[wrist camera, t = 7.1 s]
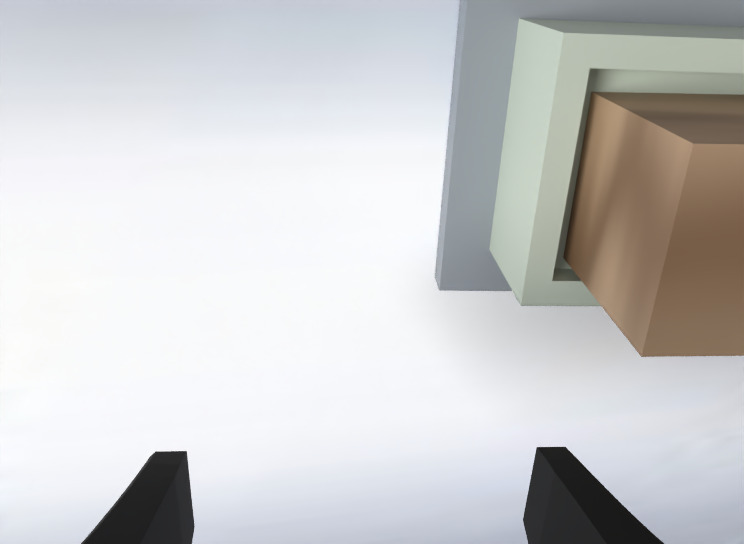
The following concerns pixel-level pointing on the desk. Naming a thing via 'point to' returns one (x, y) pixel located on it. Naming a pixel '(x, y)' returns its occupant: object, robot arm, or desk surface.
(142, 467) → the robot arm
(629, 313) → the walnut block
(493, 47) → the socket base
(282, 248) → the desk surface
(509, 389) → the desk surface
